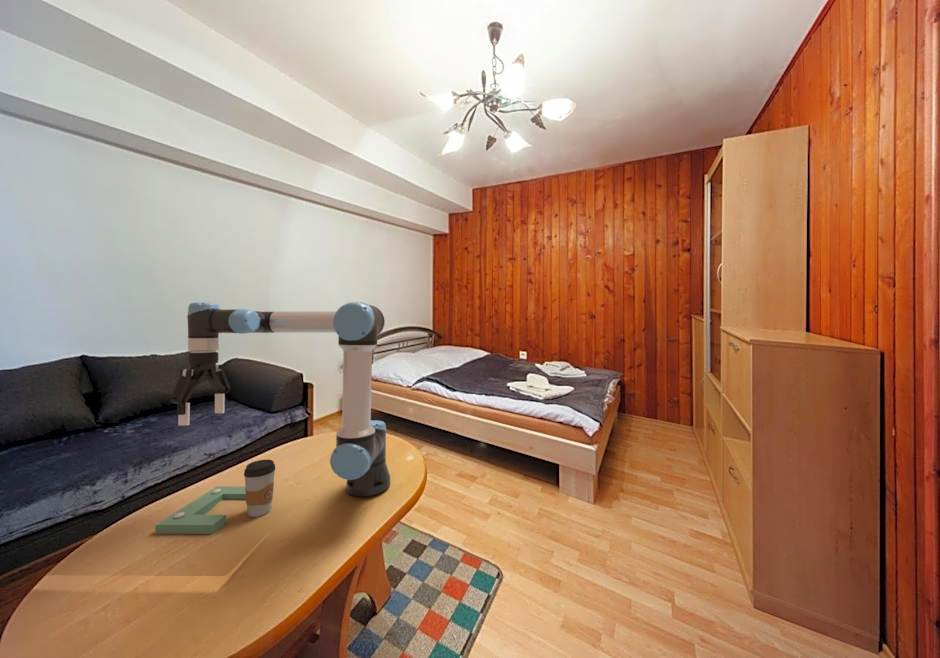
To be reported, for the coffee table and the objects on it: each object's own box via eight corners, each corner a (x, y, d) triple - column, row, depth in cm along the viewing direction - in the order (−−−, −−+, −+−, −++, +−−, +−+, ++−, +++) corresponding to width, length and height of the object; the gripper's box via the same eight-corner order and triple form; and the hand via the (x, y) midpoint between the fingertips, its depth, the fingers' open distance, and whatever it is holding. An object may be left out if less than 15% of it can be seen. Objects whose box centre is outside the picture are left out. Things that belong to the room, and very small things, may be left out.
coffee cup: (259, 521, 96) (260, 471, 96) (236, 517, 98) (236, 468, 98) (281, 506, 104) (281, 460, 104) (259, 503, 106) (259, 457, 106)
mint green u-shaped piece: (262, 493, 112) (262, 484, 112) (212, 534, 90) (212, 523, 90) (216, 493, 112) (216, 484, 112) (155, 533, 90) (155, 522, 90)
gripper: (221, 349, 114) (221, 408, 114) (152, 354, 89) (152, 431, 89) (242, 349, 114) (242, 408, 114) (180, 354, 89) (179, 431, 89)
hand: (203, 418), depth 102 cm, fingers open, 13 cm apart
